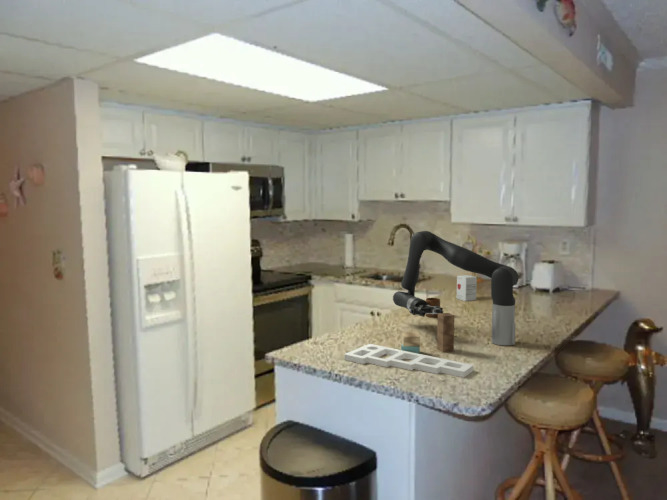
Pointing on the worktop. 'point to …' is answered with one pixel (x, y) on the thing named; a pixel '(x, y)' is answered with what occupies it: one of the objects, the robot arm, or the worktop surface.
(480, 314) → the worktop surface
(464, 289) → the supplement box
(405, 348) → the tower base
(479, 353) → the worktop surface
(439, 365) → the holder
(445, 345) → the walnut column
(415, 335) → the tower mid
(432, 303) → the mug
